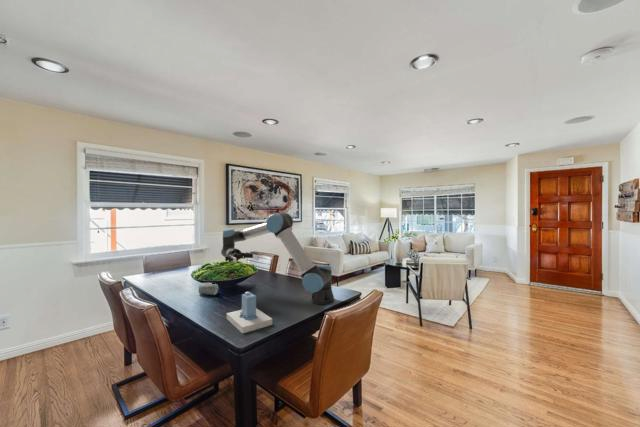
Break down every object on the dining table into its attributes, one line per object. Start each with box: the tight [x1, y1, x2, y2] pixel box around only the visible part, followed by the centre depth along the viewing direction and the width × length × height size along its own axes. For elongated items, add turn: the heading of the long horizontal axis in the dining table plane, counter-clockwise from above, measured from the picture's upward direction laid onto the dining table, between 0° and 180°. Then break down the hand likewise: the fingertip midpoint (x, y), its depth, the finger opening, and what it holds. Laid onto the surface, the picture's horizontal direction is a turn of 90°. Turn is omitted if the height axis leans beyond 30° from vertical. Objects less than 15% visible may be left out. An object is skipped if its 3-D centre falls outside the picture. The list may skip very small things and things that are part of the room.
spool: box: [198, 282, 219, 296], centre depth 187 cm, size 14×10×10 cm
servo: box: [240, 291, 258, 320], centre depth 142 cm, size 11×6×15 cm, turn 38°
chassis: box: [226, 307, 274, 334], centre depth 142 cm, size 22×16×3 cm
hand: (247, 259), depth 158 cm, fingers open, 13 cm apart
